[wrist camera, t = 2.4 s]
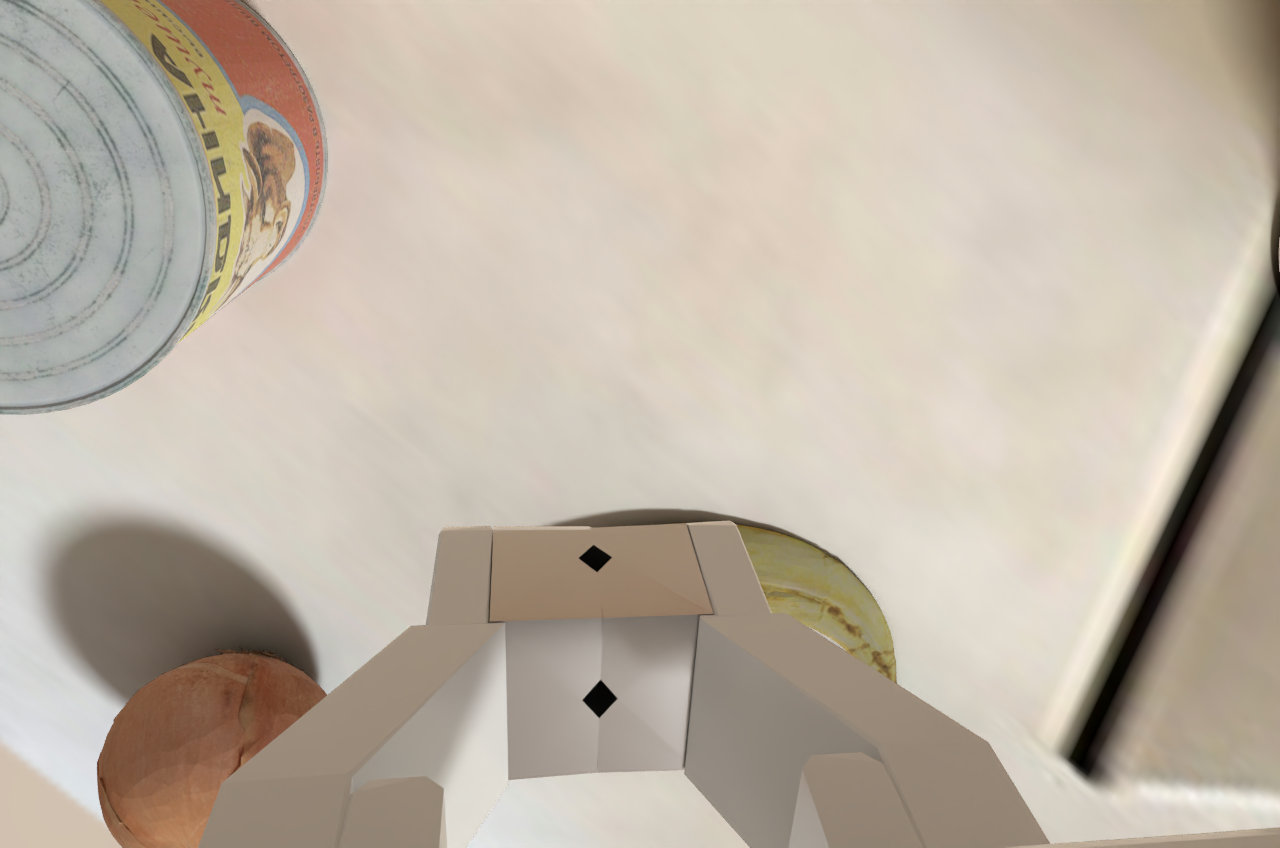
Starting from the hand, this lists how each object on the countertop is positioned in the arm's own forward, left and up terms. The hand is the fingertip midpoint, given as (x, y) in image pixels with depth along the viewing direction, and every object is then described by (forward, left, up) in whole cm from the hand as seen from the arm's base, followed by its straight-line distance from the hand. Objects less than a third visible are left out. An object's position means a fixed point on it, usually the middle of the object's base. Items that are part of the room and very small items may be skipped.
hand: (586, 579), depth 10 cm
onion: (+24, +11, -27) cm, 38 cm away
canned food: (+11, -9, -27) cm, 31 cm away
